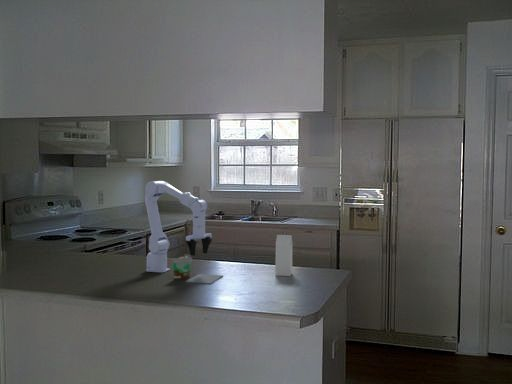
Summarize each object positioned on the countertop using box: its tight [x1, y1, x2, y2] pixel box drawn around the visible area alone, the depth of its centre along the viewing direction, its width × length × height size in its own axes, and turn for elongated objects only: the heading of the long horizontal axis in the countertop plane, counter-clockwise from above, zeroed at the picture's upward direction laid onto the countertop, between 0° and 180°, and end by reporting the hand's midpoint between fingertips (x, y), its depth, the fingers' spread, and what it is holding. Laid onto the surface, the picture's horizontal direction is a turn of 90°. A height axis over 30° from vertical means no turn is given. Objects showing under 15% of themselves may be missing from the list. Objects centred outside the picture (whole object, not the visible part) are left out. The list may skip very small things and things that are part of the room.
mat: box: [185, 273, 224, 285], centre depth 243 cm, size 12×16×1 cm
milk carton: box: [274, 234, 294, 277], centre depth 254 cm, size 7×7×19 cm
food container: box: [172, 253, 193, 281], centre depth 246 cm, size 12×6×10 cm, turn 161°
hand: (198, 254), depth 251 cm, fingers open, 7 cm apart
